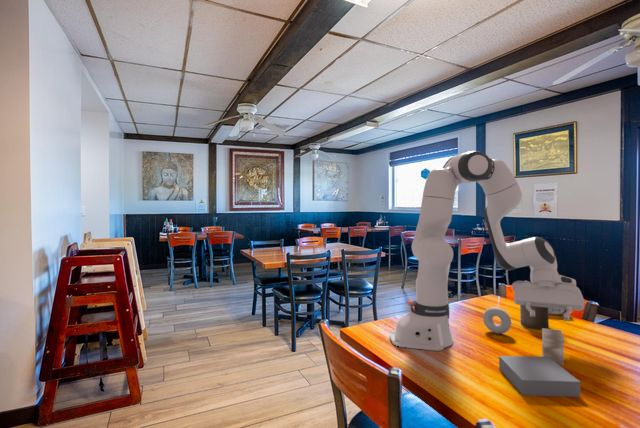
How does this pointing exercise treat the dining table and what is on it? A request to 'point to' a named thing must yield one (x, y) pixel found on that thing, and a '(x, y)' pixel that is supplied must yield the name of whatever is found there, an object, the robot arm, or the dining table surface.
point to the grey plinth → (539, 376)
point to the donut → (501, 314)
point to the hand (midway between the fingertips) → (549, 317)
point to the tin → (556, 311)
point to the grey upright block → (553, 345)
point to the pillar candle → (538, 320)
